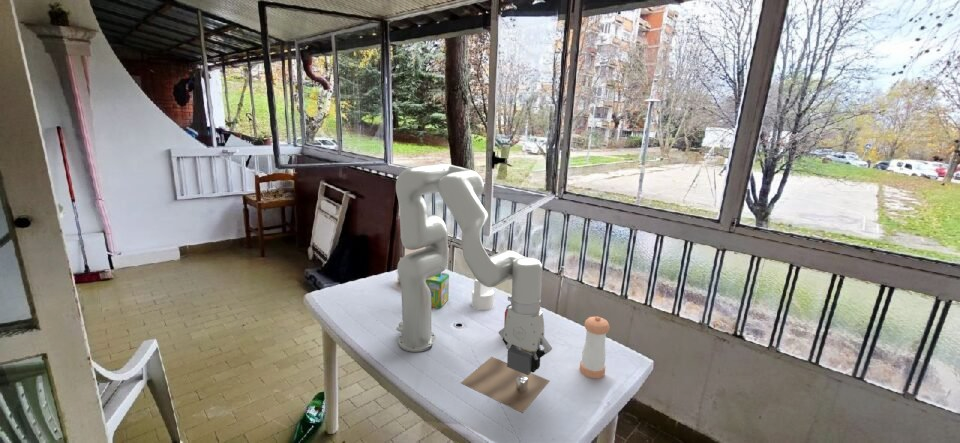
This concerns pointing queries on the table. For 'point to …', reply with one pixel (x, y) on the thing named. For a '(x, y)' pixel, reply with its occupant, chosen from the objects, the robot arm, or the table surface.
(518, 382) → the d shaft
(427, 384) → the table surface
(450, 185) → the robot arm
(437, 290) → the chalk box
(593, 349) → the pepper shaker
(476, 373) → the base plate
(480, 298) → the cylinder with rectangular tab
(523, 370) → the grey cube with stripe
